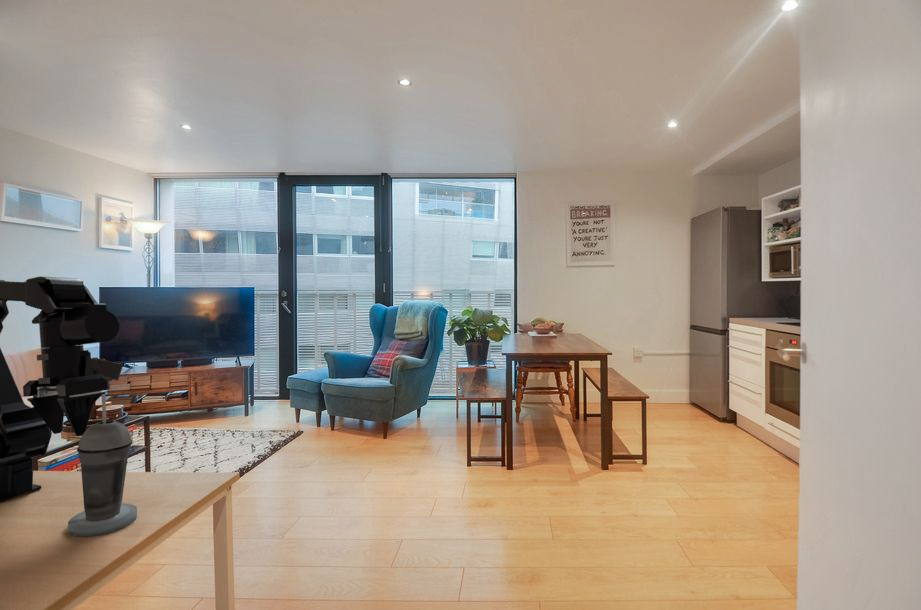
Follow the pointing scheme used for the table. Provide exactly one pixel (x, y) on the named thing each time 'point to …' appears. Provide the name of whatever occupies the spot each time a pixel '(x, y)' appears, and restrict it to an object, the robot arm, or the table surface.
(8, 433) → the robot arm
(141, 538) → the table surface
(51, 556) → the table surface
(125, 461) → the beverage cup
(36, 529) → the table surface
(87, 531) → the slate dish
